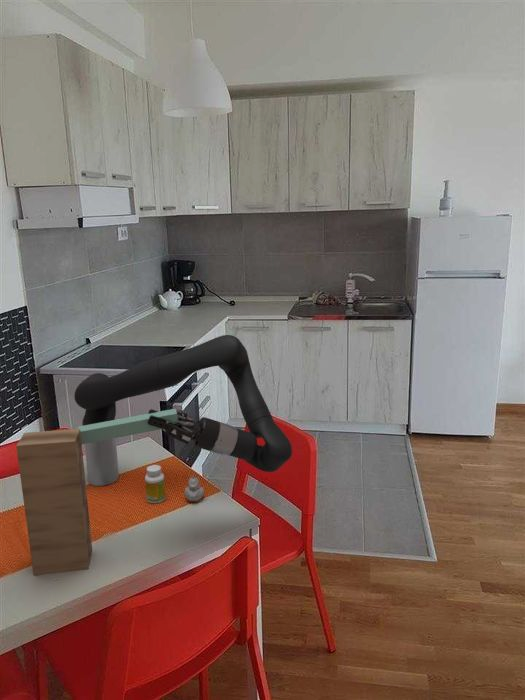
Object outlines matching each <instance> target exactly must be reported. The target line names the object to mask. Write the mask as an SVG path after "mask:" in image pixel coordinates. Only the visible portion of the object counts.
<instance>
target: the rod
mask: <svg viewBox="0 0 525 700" xmlns="http://www.w3.org/2000/svg"><path fill="white" fill-rule="evenodd" d="M177 412H178V411H177V408H172V409H165V410H160V411H159V412H155V413H150V414H148V413H144V414H140V415H133V416H128V417H123V418H118V419H115V420H111V421H106V422H101V423H95V424H90V425H85V426H83V425H80V426H79V425H78V426H77V428H76V429H80V433H81V443H82V445H84V444H87V443H92V442H97V441H102V440H108V439H113V438H116V439H117V438H124V437H127V436H134V435H138V434H144V433H149V432H154V431H159V430H162V429H163V428H162V429H161V428H158V427H155V426H151V425H148V420H149V417H150V416H151V415H153V416H156V417H159V418H162V419H165V420H170V421H174V422H175V421H178V418H177Z"/></svg>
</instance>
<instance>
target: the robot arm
mask: <svg viewBox="0 0 525 700" xmlns="http://www.w3.org/2000/svg"><path fill="white" fill-rule="evenodd" d="M214 367H219V368H220V370H222V371H223V372H224V373H225V375H226V376H227V378H228V380H229V381H230V382H231V385H232V387H233V388H234V390H235V393H236V397H237V400H238V406H239V409H240V411H241V414H242V417H243V419H244V422H245V425H246V427H247V428H248V430H247V431H246V430H243V429H241V428H237V427H234V426H232V425H230V424H227V423H224V422H221V421H218V420H214V419H211V418H208V417H205V416H202V417H200V418H199V420H198V421H196V420H194V419H193V418H191V417H188V413H186V412H184V411H183V412H181V411H176V412H177V418H178V421H175V422H174V421H170V420H165V419H162V418H159V417H156V416H153V415H151V416H150V417H149V420H148V425H151V426H155V427H158V428H161V429H160V430H162V431H164V432H165V435H167V436H168V437H171V438H172V439H175V440H177V441H179V442H181V443H184V444H186V445H189V443H190V441H192V445H193V447H195V448H198V449H201V450H206V451H208V452H212V453H215V454H219V455H224V456H225V455H226V456H230V457H233V458H236V459H241V460H243V461H244V462H246V463H247V464H249V465H251V466H253V467H254V468H256V469H258V470H260V471H262V472H265V473H273V472H276V471H278V470H279V469H281V467H283V466H284V464H286V463H287V462H288V461H289V460H290V459H291V457H292V454H293V447H292V444H291V441H290V439H289V438H288V437H287V435H286V434H285V433H284V432H283V430H282V429H281V428H280V427H279V425H277V423H276V422H275V420H274V418H273V416H272V413H271V412H270V411H271V410H269V407H268V405H267V402H266V401H265V399H264V397H263V395H262V393H261V391H260V389H259V387H258V385H257V382H256V379H255V377H254V374H253V370H252V366H251V363H250V359H249V354H248V350H247V348H246V346H244V344H243V342H242V341H241V340H240V339H239V338H238V337H236V336H234V335H233V334H231V335H230V334H223V335H220V336H217V337H214V338H212V339H209V340H208V341H205V342H202V343H200V344H197V345H196V346H193V347H190V348H186V349H182V350H178V351H175V352H173V353H169V354H166V355H162V356H158V357H155V358H150V359H148V360H146V361H143V362H140V363H138V364H136V365H134V366H132V367H130V368H127V369H126V370H124V371H122V372H120V373H118V374H114V375H112V376H108V375H107V374H104V373H101V372H98V373H97V372H96V373H93V374H91V375H89V376H87V378H85V379H84V380H82V381H81V382H80V383H79V384H78V386H77V387H76V389H75V391H74V396H73V397H74V401H75V403H76V404H77V405H78V407H80V408H81V409H84V410H85V412H84V416H83V419H82V420H81V421H82V422H81V424H82V425H81V426H85V425H90V424H95V423H101V422H106V421H111V420H116V415H117V405H116V404H117V403H116V402H118V401H122V400H124V399H128V398H132V397H136V396H141V395H146V394H149V393H154V392H157V391H160V390H164V389H168V388H171V387H174V386H177V385H179V384H180V383H182V382H183V381H185V380H186V379H187V378H188V377H190V376H191V375H192V374H194V373H196V372H198V371H202V370H205V369H208V368H214ZM155 412H160V411H158V410H155V409H149V410H148V412H147V414H150V413H155ZM162 428H163V429H162ZM258 439H263V441H264V445H259V444H258ZM83 445H84V453H85V462H86V472H87V474H86V475H87V482H88V483H89V485H92V486H94V487H95V486H97V487H98V486H99V487H102V486H108V485H112V484H113V483H115V482H116V481H118V480H119V478H120V471H119V459H118V449H117V438H113V439H108V440H102V441H97V442H92V443H87V444H83Z"/></svg>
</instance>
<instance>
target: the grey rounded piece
mask: <svg viewBox="0 0 525 700" xmlns="http://www.w3.org/2000/svg"><path fill="white" fill-rule="evenodd" d="M187 485H188V486H186V487H185V489H184V496H185V498H186V499H187V501H190V502H198V501H200V500H201V499H202V498H203V496H204V493H205V489H204V487H202V486H200V480H199V478H198V477H196V476H194V475H192V476H191V477H189V479H188V482H187Z"/></svg>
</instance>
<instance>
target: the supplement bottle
mask: <svg viewBox="0 0 525 700" xmlns="http://www.w3.org/2000/svg"><path fill="white" fill-rule="evenodd" d="M144 484H145V499H146V501H147V502H148V503H151V504H159V503H161V502H164V500H165V499H166V487H165V485H166V483H165V474H164V473H163V472H162V467H161V465H157V464H153V465H149V466H147V467H146V474H145V477H144Z"/></svg>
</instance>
